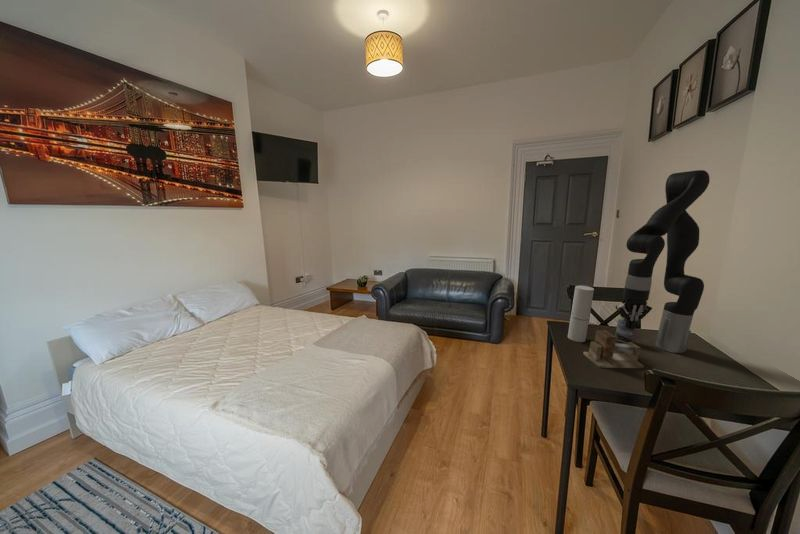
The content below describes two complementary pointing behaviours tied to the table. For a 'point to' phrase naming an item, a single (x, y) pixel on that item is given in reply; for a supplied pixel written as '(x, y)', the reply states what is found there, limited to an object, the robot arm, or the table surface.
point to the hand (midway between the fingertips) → (629, 328)
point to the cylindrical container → (580, 313)
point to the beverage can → (623, 331)
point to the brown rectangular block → (606, 343)
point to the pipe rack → (615, 356)
